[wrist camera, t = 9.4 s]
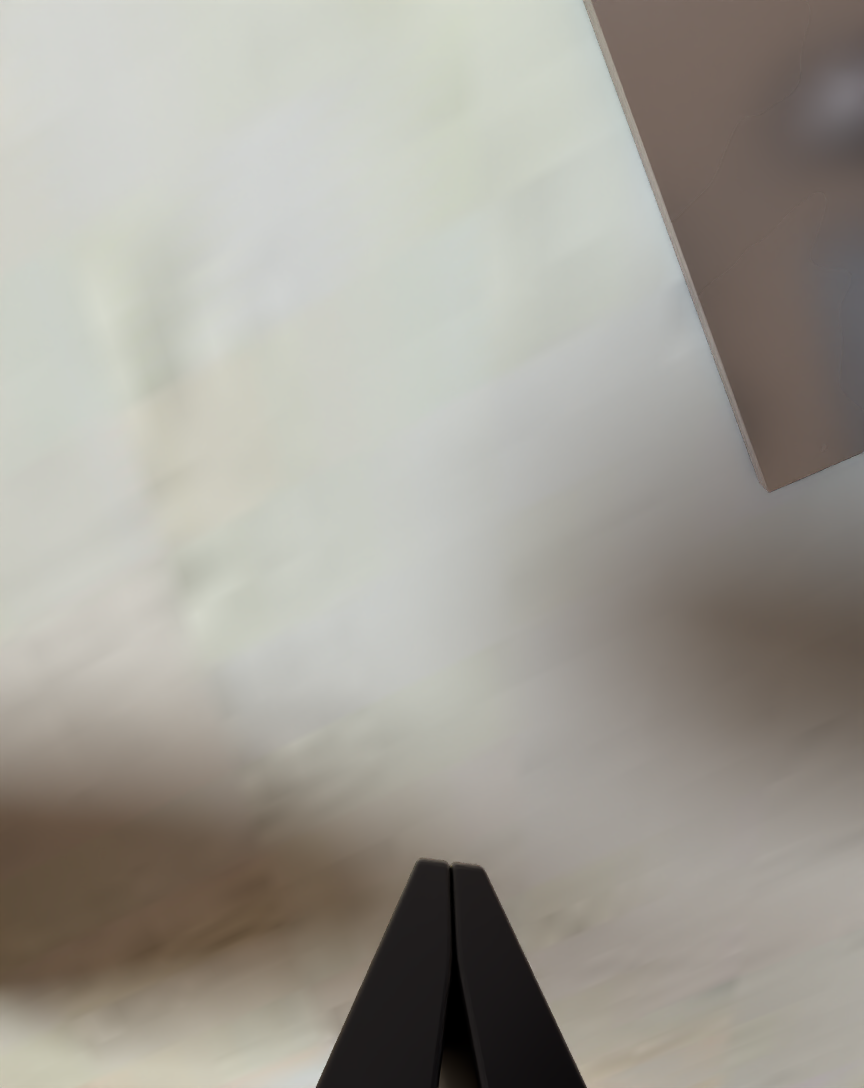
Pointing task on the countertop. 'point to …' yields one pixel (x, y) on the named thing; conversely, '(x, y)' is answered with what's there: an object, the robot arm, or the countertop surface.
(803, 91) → the peg on base plate
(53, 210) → the countertop surface
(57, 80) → the countertop surface
